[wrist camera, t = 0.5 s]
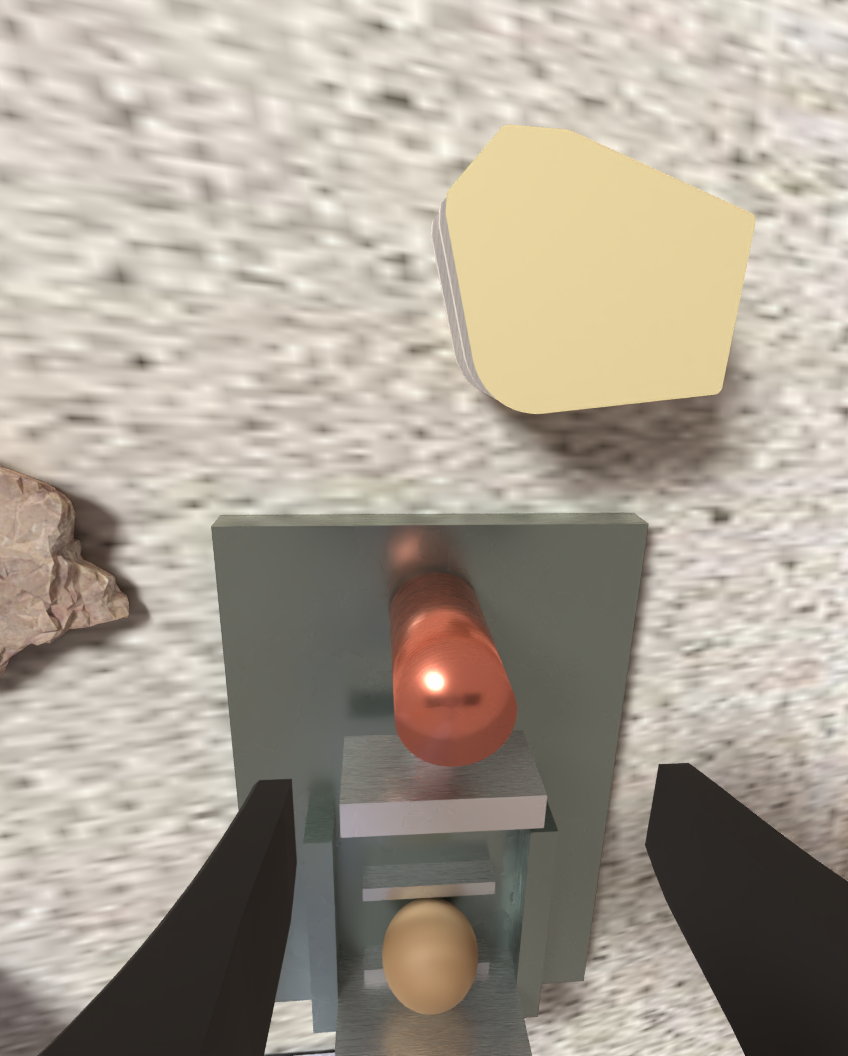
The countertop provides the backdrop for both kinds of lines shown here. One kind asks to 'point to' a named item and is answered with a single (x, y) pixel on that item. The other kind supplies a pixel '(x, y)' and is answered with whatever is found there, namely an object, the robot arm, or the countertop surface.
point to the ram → (442, 728)
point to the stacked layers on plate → (586, 275)
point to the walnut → (430, 955)
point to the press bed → (368, 709)
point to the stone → (46, 569)
